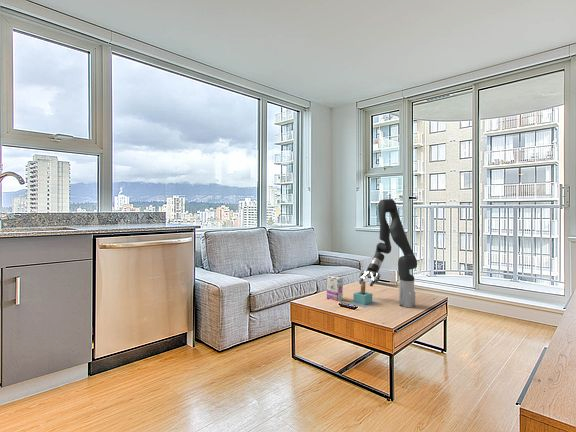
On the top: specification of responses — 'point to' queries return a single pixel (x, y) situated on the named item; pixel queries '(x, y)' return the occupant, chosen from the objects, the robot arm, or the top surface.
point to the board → (363, 305)
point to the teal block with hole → (362, 298)
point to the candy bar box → (334, 288)
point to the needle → (362, 287)
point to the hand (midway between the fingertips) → (365, 284)
